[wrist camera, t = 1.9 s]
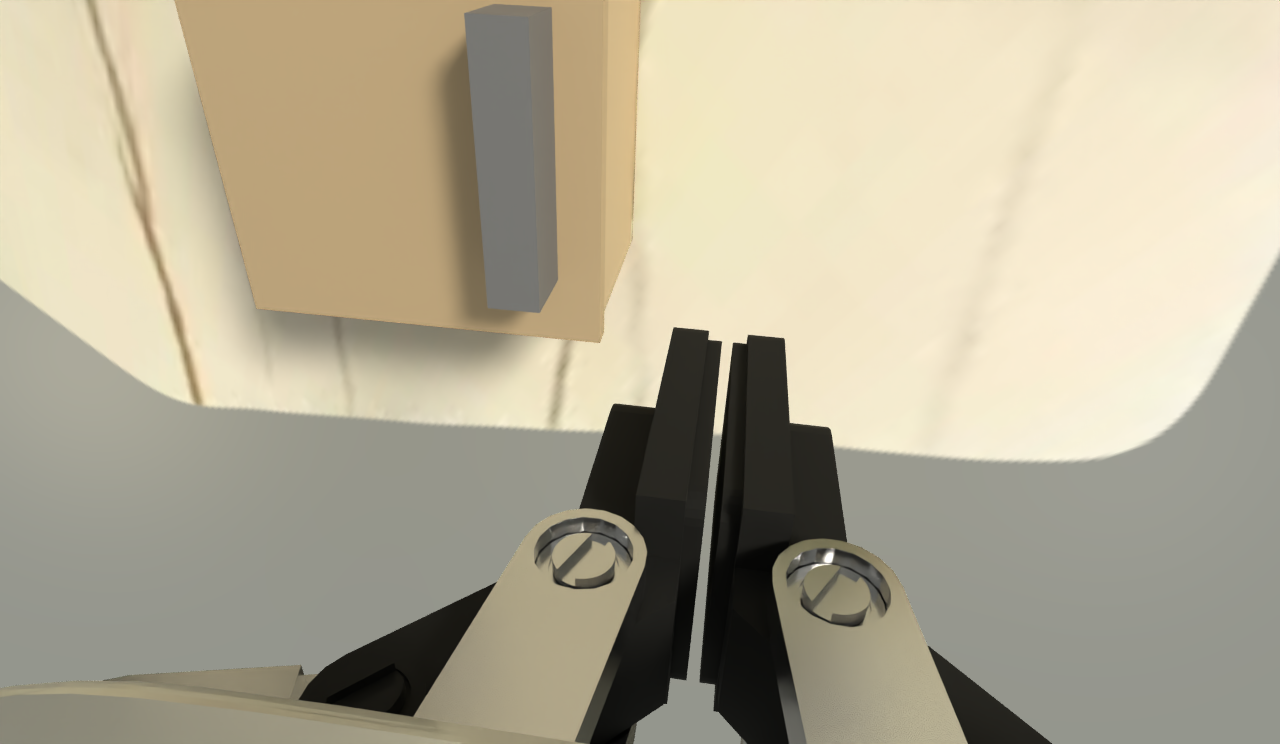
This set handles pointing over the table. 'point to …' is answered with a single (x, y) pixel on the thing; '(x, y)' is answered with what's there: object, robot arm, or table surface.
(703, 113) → the table surface
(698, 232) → the table surface
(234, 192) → the box lid
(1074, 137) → the table surface
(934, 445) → the table surface
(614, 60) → the shipping box
